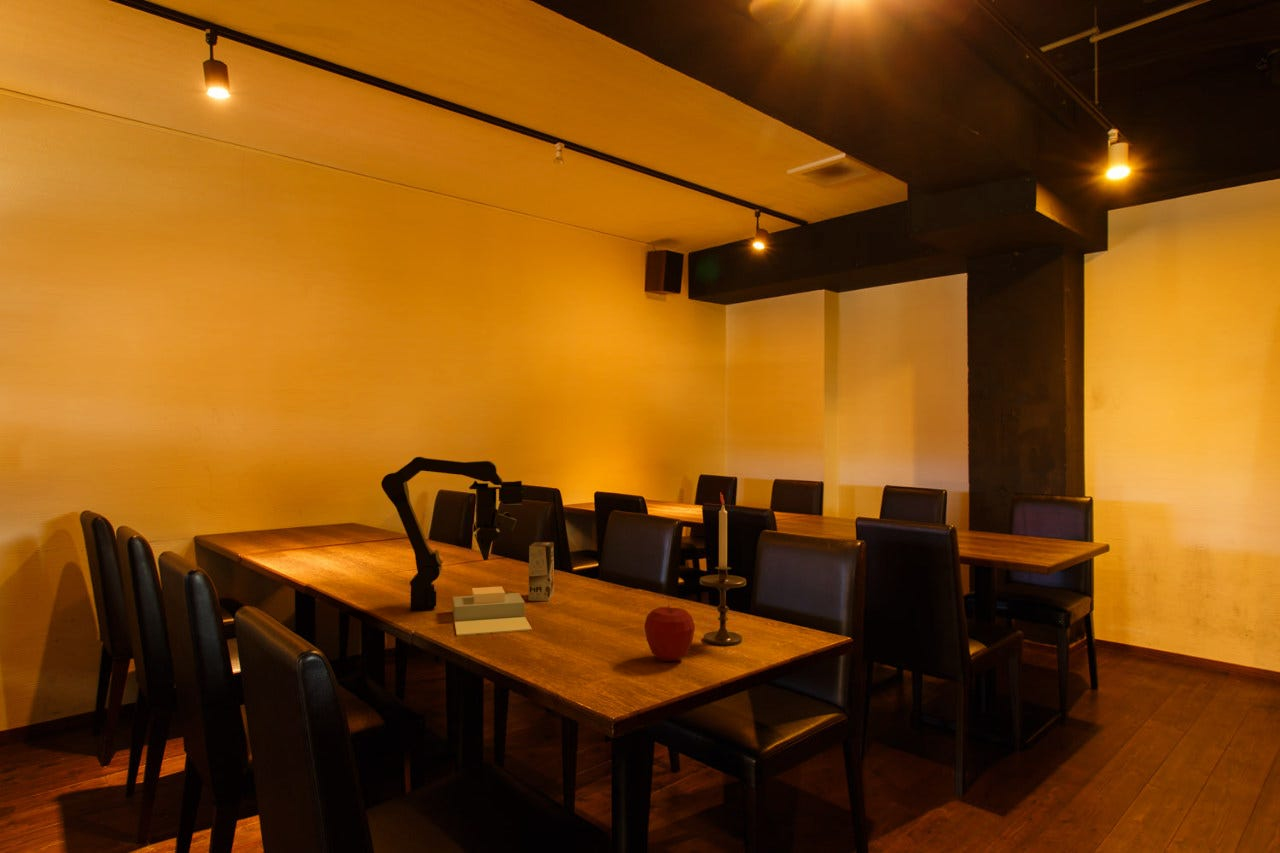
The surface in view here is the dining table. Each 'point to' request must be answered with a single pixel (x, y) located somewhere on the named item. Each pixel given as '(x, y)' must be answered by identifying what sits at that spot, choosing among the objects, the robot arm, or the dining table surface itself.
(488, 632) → the mat
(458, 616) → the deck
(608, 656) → the dining table surface
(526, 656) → the dining table surface
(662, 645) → the apple
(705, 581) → the candlestick
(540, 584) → the coffee box
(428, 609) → the robot arm
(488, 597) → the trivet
